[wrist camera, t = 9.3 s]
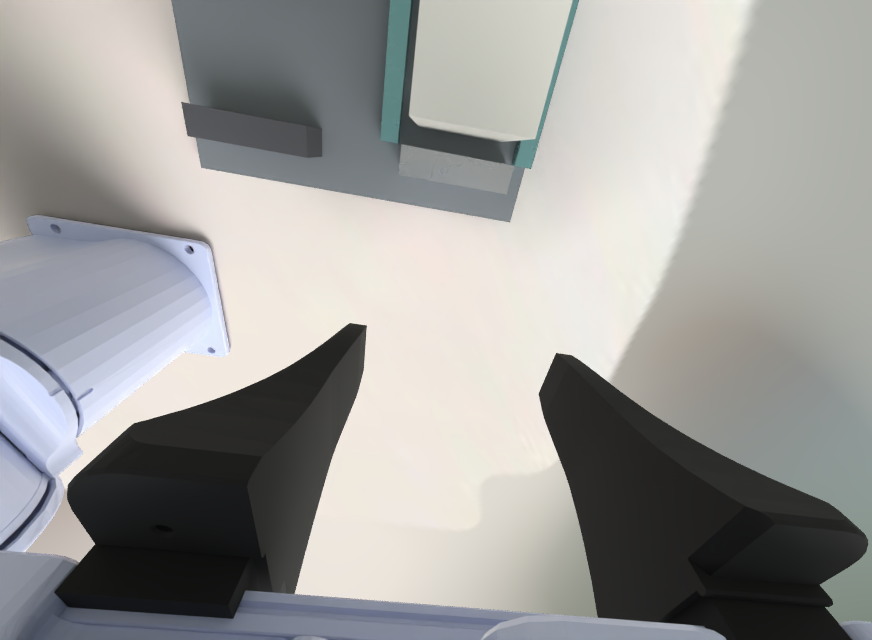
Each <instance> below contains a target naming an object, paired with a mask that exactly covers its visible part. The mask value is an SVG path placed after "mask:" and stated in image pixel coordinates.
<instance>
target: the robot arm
mask: <svg viewBox="0 0 872 640" xmlns="http://www.w3.org/2000/svg"><path fill="white" fill-rule="evenodd" d="M26 221H27V225H28V227H29V229H30V231H31V234H32V235H29V236H25V237H20V238H15V239H11V240H6V241H2V242H0V640H872V622H865V621H847V622H842V623H838V622H837V621H836V620H835V619H834V617H833V616H832V615H831V614H830V613H829V611H828V610H827V609H826V608H825V607H830V606H832V605H833V601H832V599H831V598H830V597H829V596H828V594H827V593H826V592H825V591H824V590H823V589H822V588H821V587H820V584H821V583H823V582H825V581H826V580H828V579H829V578H831V577H833V576H835V575H836V574H838V573H840V572H841V571H843V570H845V569H846V568H848V567H850V566H851V565H852V564H854V563H855V562H856V561H858V560H859V559H860V558H861V557H862V556H863V555H864V554H865V552H866V550H867V546H868V540H867V538H866V535H865V534H864V533H863V532H862V531H861V530H860V529H859V528H858V527H857V526H855V525H854V524H853V523H852V522H851V521H850V520H849V519H848V518H847V517H846V516H844V515H843V514H842V513H841V512H840V511H839V510H837V509H836V508H835V507H833V506H832V505H830V504H829V503H827V502H825V501H822V500H820V499H818V498H815V497H813V496H810V495H808V494H806V493H803V492H801V491H799V490H796V489H794V488H791V487H789V486H787V485H784V484H782V483H780V482H778V481H775V480H773V479H771V478H768V477H766V476H764V475H762V474H760V473H758V472H756V471H754V470H751V469H749V468H747V467H745V466H743V465H741V464H739V463H737V462H735V461H733V460H731V459H729V458H727V457H725V456H723V455H721V454H719V453H717V452H715V451H714V450H712V449H710V448H708V447H706V446H704V445H702V444H701V443H699V442H697V441H695V440H693V439H691V438H690V437H688V436H686V435H685V434H683V433H681V432H680V431H678V430H676V429H675V428H673V427H672V426H670V425H668V424H667V423H665V422H663V421H662V420H660V419H659V418H657V417H655V416H654V415H653V414H651V413H649V412H648V411H647V410H645V409H644V408H642V407H641V406H639V405H638V404H637V403H635V402H634V401H633V400H631V399H630V398H628V397H627V396H626V395H624V394H623V393H621V392H620V391H619V390H617V389H616V388H615V387H614V386H612V385H611V384H610V383H609V382H607V381H606V380H605V379H603V378H602V377H601V376H599V375H598V374H597V373H596V372H594V371H593V370H592V369H590V368H589V367H588V366H586V365H585V364H584V363H582V362H581V361H580V360H578V359H577V358H575V357H573V356H572V355H566V354H559V353H556V355H555V357H554V359H553V362H552V364H551V366H550V369H549V371H548V373H547V376H546V378H545V380H544V383H543V385H542V387H541V390H540V392H539V397H540V402H541V407H542V411H543V415H544V419H545V422H546V424H547V427H548V430H549V432H550V435H551V438H552V440H553V443H554V446H555V448H556V451H557V453H558V456H559V458H560V461H561V464H562V466H563V469H564V471H565V474H566V477H567V480H568V483H569V486H570V490H571V493H572V497H573V501H574V505H575V508H576V512H577V516H578V520H579V524H580V528H581V533H582V537H583V541H584V546H585V550H586V556H587V561H588V565H589V570H590V575H591V580H592V586H593V592H594V597H595V603H596V609H597V615H598V618H595V617H582V616H569V615H556V614H541V613H530V612H517V611H503V610H491V609H479V608H466V607H453V606H439V605H427V604H414V603H401V602H388V601H375V600H362V599H350V598H337V597H323V596H311V595H298V594H294V593H295V590H296V586H297V582H298V578H299V574H300V570H301V566H302V563H303V559H304V555H305V551H306V547H307V544H308V540H309V536H310V533H311V529H312V525H313V521H314V518H315V514H316V511H317V507H318V504H319V500H320V497H321V493H322V490H323V486H324V483H325V479H326V476H327V473H328V469H329V466H330V462H331V459H332V456H333V453H334V451H335V448H336V445H337V443H338V440H339V438H340V435H341V433H342V430H343V428H344V425H345V423H346V420H347V418H348V416H349V413H350V411H351V408H352V406H353V403H354V401H355V398H356V396H357V393H358V389H359V386H360V382H361V378H362V374H363V370H364V356H365V342H366V328H367V326H366V325H359V324H352V323H349V324H348V325H347V326H345V327H344V328H343V329H341V330H340V331H339V332H338V333H336V334H335V335H334V336H332V337H331V338H330V339H329V340H327V341H326V342H325V343H323V344H322V345H320V346H319V347H318V348H316V349H315V350H314V351H312V352H311V353H309V354H308V355H306V356H305V357H303V358H301V359H300V360H298V361H297V362H295V363H294V364H292V365H290V366H288V367H287V368H285V369H283V370H281V371H279V372H277V373H275V374H274V375H272V376H270V377H268V378H266V379H263V380H261V381H259V382H257V383H254V384H252V385H250V386H247V387H245V388H243V389H241V390H238V391H236V392H233V393H231V394H228V395H226V396H223V397H220V398H217V399H215V400H212V401H209V402H206V403H203V404H200V405H197V406H194V407H191V408H188V409H185V410H181V411H178V412H174V413H170V414H167V415H163V416H160V417H156V418H153V419H149V420H146V421H142V422H138V423H134V424H133V425H131V426H130V427H129V428H128V429H127V430H126V431H124V432H123V433H122V434H121V435H120V436H119V437H118V438H117V439H116V440H114V441H113V442H112V443H111V444H110V445H109V446H108V447H107V448H106V449H104V450H103V451H102V452H101V453H100V454H99V455H98V456H97V457H96V458H95V459H93V460H92V461H91V462H90V463H89V464H88V465H87V466H86V467H85V468H84V469H82V470H81V471H80V472H79V473H78V474H77V475H76V476H75V477H74V478H73V479H72V481H71V482H70V483H69V484H68V491H67V500H68V502H69V504H70V506H71V509H72V511H73V512H74V514H75V515H76V517H77V518H78V519H79V521H80V522H81V524H82V525H83V527H84V528H85V529H86V531H87V532H88V534H89V535H90V537H91V538H92V540H93V541H94V542H95V545H94V546H93V548H92V549H91V550H90V551H89V552H88V553H87V555H86V556H85V557H84V558H83V559H82V560H81V562H80V563H79V562H77V561H76V560H73V559H71V558H68V557H65V556H59V555H50V554H39V553H27V552H25V551H26V550H27V549H28V548H29V547H30V546H31V545H32V543H33V542H34V541H35V540H36V538H37V537H38V536H39V535H40V534H41V533H42V532H43V530H44V529H45V528H46V526H47V525H48V524H49V522H50V521H51V520H52V518H53V517H54V515H55V513H56V511H57V509H58V508H59V506H60V503H61V501H62V498H63V494H64V486H63V483H62V480H61V478H60V477H59V476H58V475H59V474H60V473H61V472H62V471H64V470H65V469H66V468H67V467H68V466H69V465H71V464H72V463H73V462H74V461H75V460H76V459H77V458H79V457H80V456H81V455H82V454H83V451H82V450H81V448H80V447H79V446H78V444H77V441H76V438H77V437H79V436H80V435H81V434H82V433H84V432H85V431H86V430H87V429H89V428H90V427H91V426H92V425H94V424H95V423H96V422H97V421H99V420H100V419H101V418H102V417H104V416H105V415H106V414H107V413H108V412H110V411H111V410H112V409H113V408H115V407H116V406H117V405H118V404H120V403H121V402H122V401H123V400H125V399H126V398H127V397H128V396H130V395H131V394H132V393H133V392H135V391H136V390H137V389H138V388H140V387H141V386H142V385H143V384H144V383H146V382H147V381H148V380H149V379H151V378H152V377H153V376H154V375H156V374H157V373H158V372H159V371H161V370H162V369H163V368H164V367H166V366H167V365H168V364H169V363H171V362H172V361H173V360H174V359H176V358H177V357H178V356H179V355H180V354H182V353H183V352H188V353H195V354H203V355H210V356H218V357H224V356H226V355H227V354H228V353H229V352H230V348H229V343H228V338H227V332H226V327H225V321H224V316H223V311H222V305H221V300H220V294H219V289H218V284H217V278H216V273H215V267H214V262H213V257H212V251H211V248H210V247H209V245H208V244H206V243H205V242H203V241H198V240H192V239H186V238H179V237H173V236H167V235H161V234H154V233H148V232H142V231H136V230H129V229H123V228H117V227H111V226H104V225H98V224H92V223H85V222H79V221H73V220H67V219H60V218H54V217H48V216H42V215H34V216H29V217H28V218H27V220H26ZM58 226H59V227H60V228H59V227H58ZM189 246H191V247H192V248H193V249H194V252H193V251H192V250H190V248H189ZM211 347H212V348H214V349H215V350H214V349H212V348H211Z"/></svg>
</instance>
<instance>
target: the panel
mask: <svg viewBox="0 0 872 640" xmlns="http://www.w3.org/2000/svg"><path fill="white" fill-rule="evenodd" d="M419 5H420V0H413V9H412V20H411V30H410V40H409V50H408V61H407V71H406V81H405V92H404V102H403V112H402V123H401V133H400V143H393V142H388V141H383V140H380V138H381V123H382V109H383V95H384V81H385V67H386V53H387V38H388V24H389V10H390V0H172V6H173V11H174V17H175V23H176V28H177V34H178V39H179V45H180V51H181V56H182V62H183V68H184V73H185V79H186V84H187V90H188V96H189V101H190V104H194V105H200V106H206V107H211V108H217V109H222V110H227V111H232V112H238V113H243V114H248V115H253V116H259V117H264V118H269V119H274V120H279V121H285V122H290V123H295V124H300V125H305V126H311V127H316V128H321V129H322V157H313V158H305V157H299V156H294V155H289V154H283V153H278V152H272V151H267V150H261V149H256V148H251V147H245V146H240V145H234V144H229V143H223V142H218V141H212V140H207V139H202V138H196V141H197V146H198V152H199V158H200V163H201V168H206V169H212V170H217V171H223V172H229V173H234V174H240V175H246V176H251V177H257V178H263V179H268V180H274V181H280V182H285V183H291V184H297V185H302V186H308V187H314V188H319V189H325V190H331V191H336V192H342V193H348V194H353V195H359V196H364V197H370V198H376V199H381V200H387V201H393V202H398V203H404V204H410V205H415V206H421V207H427V208H432V209H438V210H444V211H449V212H455V213H461V214H466V215H472V216H478V217H483V218H489V219H495V220H500V221H506V222H510V220H511V216H512V212H513V209H514V205H515V202H516V198H517V194H518V191H519V187H520V183H521V180H522V176H523V173H524V169H525V168H524V167H519V166H514V165H513V166H514V168H513V172H512V176H511V180H510V184H509V188H508V192H507V195H506V194H501V193H495V192H490V191H485V190H479V189H474V188H468V187H463V186H457V185H452V184H446V183H441V182H436V181H430V180H425V179H419V178H414V177H408V176H403V175H398V174H399V164H400V154H401V144H404V145H410V146H415V147H420V148H426V149H431V150H436V151H441V152H446V153H452V154H457V155H462V156H467V157H473V158H478V159H483V160H488V161H493V162H499V163H504V164H508V165H511V164H512V160H513V156H514V153H515V149H516V145H517V141H508V142H498V141H493V140H487V139H482V138H476V137H471V136H466V135H460V134H455V133H449V132H444V131H438V130H433V129H427V128H422V127H419V126H418V125H417V124H416V123H415V122H414V121H413V120H412V119H411V117H410V116H409V108H410V98H411V88H412V77H413V67H414V57H415V46H416V36H417V25H418V15H419Z"/></svg>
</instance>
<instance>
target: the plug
mask: <svg viewBox="0 0 872 640" xmlns="http://www.w3.org/2000/svg"><path fill="white" fill-rule="evenodd" d="M572 1H573V0H420V5H419V15H418V25H417V36H416V46H415V57H414V67H413V77H412V88H411V98H410V108H409V116H410V117H411V119H412V120H413V121H414V122H415V123H416V124H417V125H418V126H419V127H422V128H427V129H433V130H438V131H444V132H449V133H455V134H460V135H466V136H471V137H476V138H482V139H487V140H493V141H498V142H508V141H519V140H531V139H535V138H536V135H537V131H538V127H539V124H540V120H541V116H542V112H543V109H544V105H545V101H546V98H547V94H548V90H549V87H550V83H551V79H552V75H553V72H554V68H555V64H556V61H557V57H558V53H559V49H560V46H561V42H562V38H563V35H564V31H565V27H566V24H567V20H568V16H569V12H570V9H571V5H572Z"/></svg>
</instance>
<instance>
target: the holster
mask: <svg viewBox="0 0 872 640" xmlns="http://www.w3.org/2000/svg"><path fill="white" fill-rule="evenodd" d="M181 103H182V108H183V113H184V119H185V124H186V129H187V135H188V136H191V137H196V138H202V139H207V140H212V141H218V142H223V143H229V144H234V145H240V146H245V147H251V148H256V149H261V150H267V151H272V152H278V153H283V154H289V155H294V156H299V157H305V158H313V157H322V129H321V128H316V127H311V126H305V125H300V124H295V123H290V122H285V121H279V120H274V119H269V118H264V117H259V116H253V115H248V114H243V113H238V112H232V111H227V110H222V109H217V108H211V107H206V106H200V105H194V104H189V103H183V102H181Z"/></svg>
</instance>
